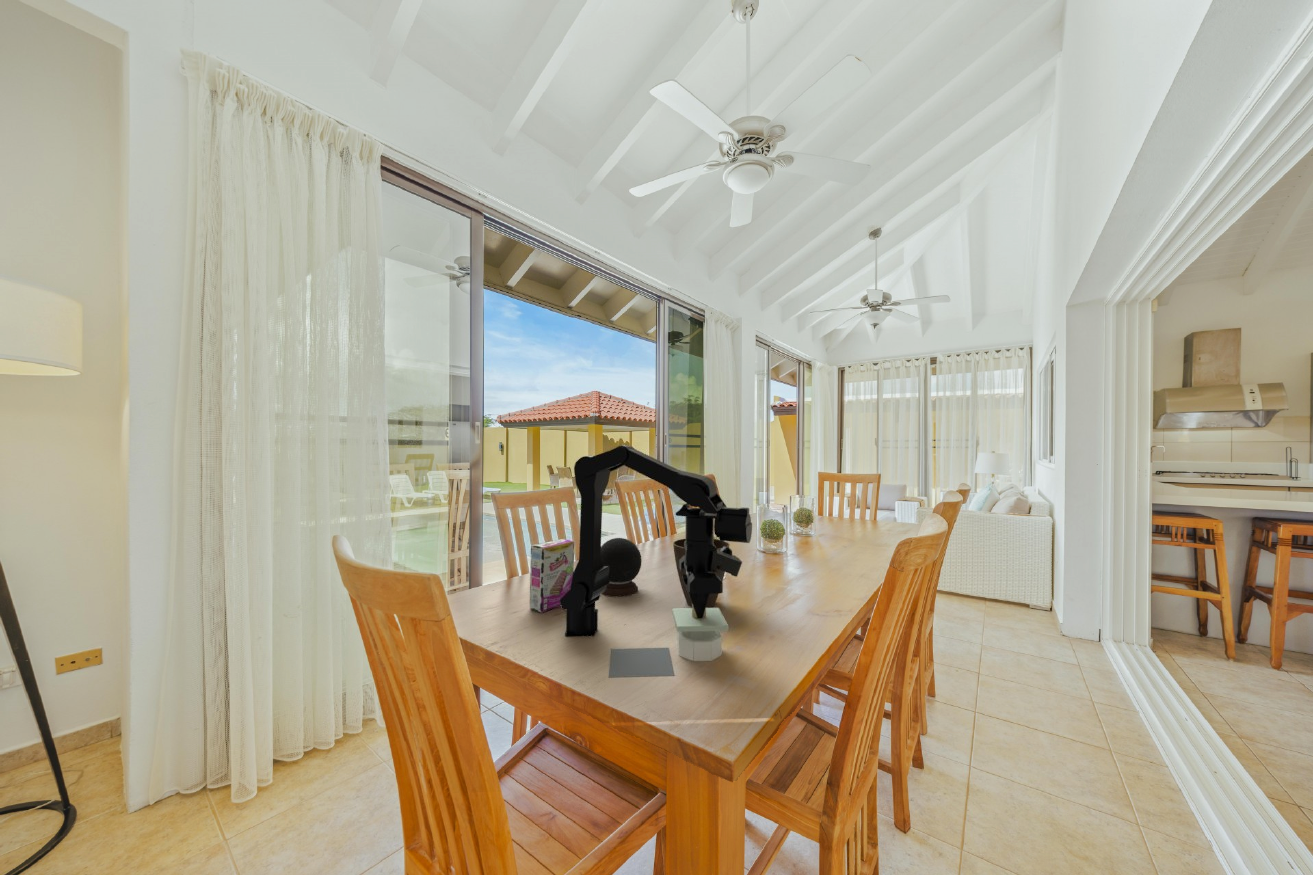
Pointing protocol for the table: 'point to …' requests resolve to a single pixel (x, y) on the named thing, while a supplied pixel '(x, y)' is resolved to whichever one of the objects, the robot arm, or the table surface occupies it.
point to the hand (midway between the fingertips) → (698, 615)
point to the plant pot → (679, 553)
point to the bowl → (699, 645)
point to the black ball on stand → (621, 566)
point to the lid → (699, 620)
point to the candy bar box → (550, 573)
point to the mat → (640, 662)
